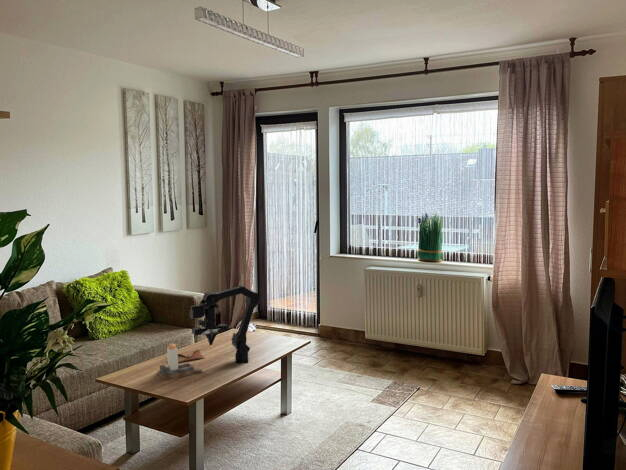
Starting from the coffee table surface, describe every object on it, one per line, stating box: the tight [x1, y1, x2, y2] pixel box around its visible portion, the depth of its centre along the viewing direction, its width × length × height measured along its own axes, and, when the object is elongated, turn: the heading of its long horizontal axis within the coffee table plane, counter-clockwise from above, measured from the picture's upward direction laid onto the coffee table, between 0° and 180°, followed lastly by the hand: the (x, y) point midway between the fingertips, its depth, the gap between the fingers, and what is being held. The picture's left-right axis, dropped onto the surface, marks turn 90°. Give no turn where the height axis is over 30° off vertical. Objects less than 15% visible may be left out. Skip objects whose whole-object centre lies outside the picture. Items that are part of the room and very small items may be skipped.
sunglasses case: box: [178, 349, 205, 365], centre depth 302 cm, size 18×7×7 cm, turn 125°
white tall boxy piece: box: [166, 343, 179, 371], centre depth 278 cm, size 4×5×14 cm
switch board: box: [157, 362, 203, 381], centre depth 280 cm, size 20×12×4 cm, turn 120°
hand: (210, 345), depth 288 cm, fingers closed
